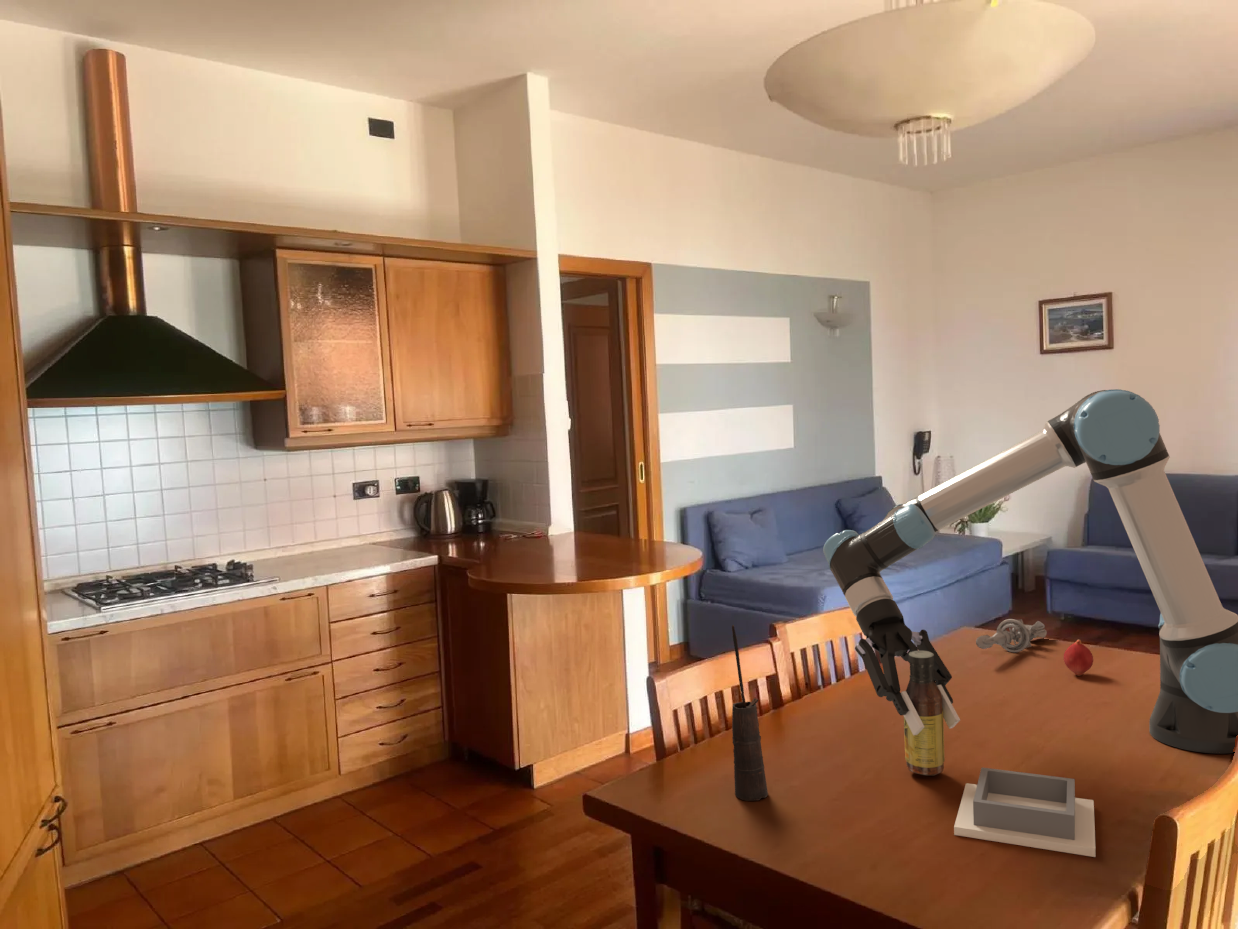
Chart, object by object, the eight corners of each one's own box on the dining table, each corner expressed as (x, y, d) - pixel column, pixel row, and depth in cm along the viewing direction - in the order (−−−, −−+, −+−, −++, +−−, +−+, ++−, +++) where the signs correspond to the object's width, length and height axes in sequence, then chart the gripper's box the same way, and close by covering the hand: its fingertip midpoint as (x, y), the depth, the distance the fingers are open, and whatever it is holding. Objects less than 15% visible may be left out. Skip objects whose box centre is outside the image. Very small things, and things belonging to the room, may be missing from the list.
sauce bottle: (913, 760, 158) (911, 645, 156) (950, 767, 154) (947, 650, 152) (898, 772, 152) (895, 654, 151) (936, 781, 148) (933, 660, 147)
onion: (1057, 673, 203) (1057, 638, 202) (1078, 670, 204) (1078, 634, 204) (1078, 681, 197) (1077, 644, 197) (1099, 677, 199) (1099, 640, 198)
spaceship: (955, 630, 212) (987, 622, 207) (1023, 617, 236) (1052, 609, 231) (967, 664, 210) (999, 657, 205) (1034, 648, 234) (1064, 640, 228)
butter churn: (765, 776, 156) (758, 612, 154) (795, 798, 147) (789, 624, 145) (716, 786, 152) (709, 620, 150) (744, 809, 143) (737, 632, 142)
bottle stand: (1093, 808, 138) (1093, 777, 138) (1095, 857, 124) (1095, 823, 124) (966, 790, 146) (965, 761, 146) (954, 835, 132) (953, 803, 132)
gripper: (911, 613, 169) (975, 729, 155) (819, 627, 163) (877, 748, 149) (929, 590, 164) (996, 707, 149) (834, 603, 158) (895, 726, 143)
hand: (936, 727), depth 149 cm, fingers closed on sauce bottle, 6 cm apart
